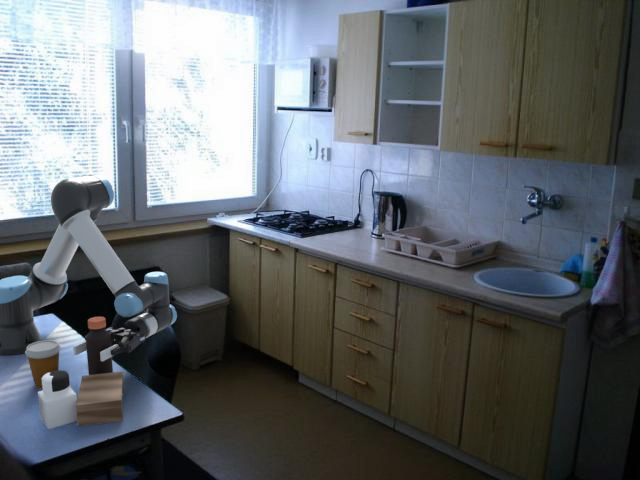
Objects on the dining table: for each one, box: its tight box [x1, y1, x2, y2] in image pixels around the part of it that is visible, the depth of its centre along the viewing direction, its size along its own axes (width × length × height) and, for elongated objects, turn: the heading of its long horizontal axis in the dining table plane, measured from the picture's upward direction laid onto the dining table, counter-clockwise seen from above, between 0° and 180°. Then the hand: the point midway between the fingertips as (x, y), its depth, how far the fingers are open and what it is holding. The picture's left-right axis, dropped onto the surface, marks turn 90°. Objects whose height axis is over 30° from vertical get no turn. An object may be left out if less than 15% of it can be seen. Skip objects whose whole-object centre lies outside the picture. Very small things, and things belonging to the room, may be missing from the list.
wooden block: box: [76, 371, 125, 428], centre depth 169 cm, size 18×11×6 cm, turn 16°
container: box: [37, 369, 78, 430], centre depth 162 cm, size 8×8×13 cm
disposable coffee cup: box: [25, 339, 62, 389], centre depth 183 cm, size 10×10×12 cm
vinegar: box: [85, 316, 114, 375], centre depth 182 cm, size 7×7×20 cm
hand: (87, 353), depth 178 cm, fingers open, 9 cm apart
